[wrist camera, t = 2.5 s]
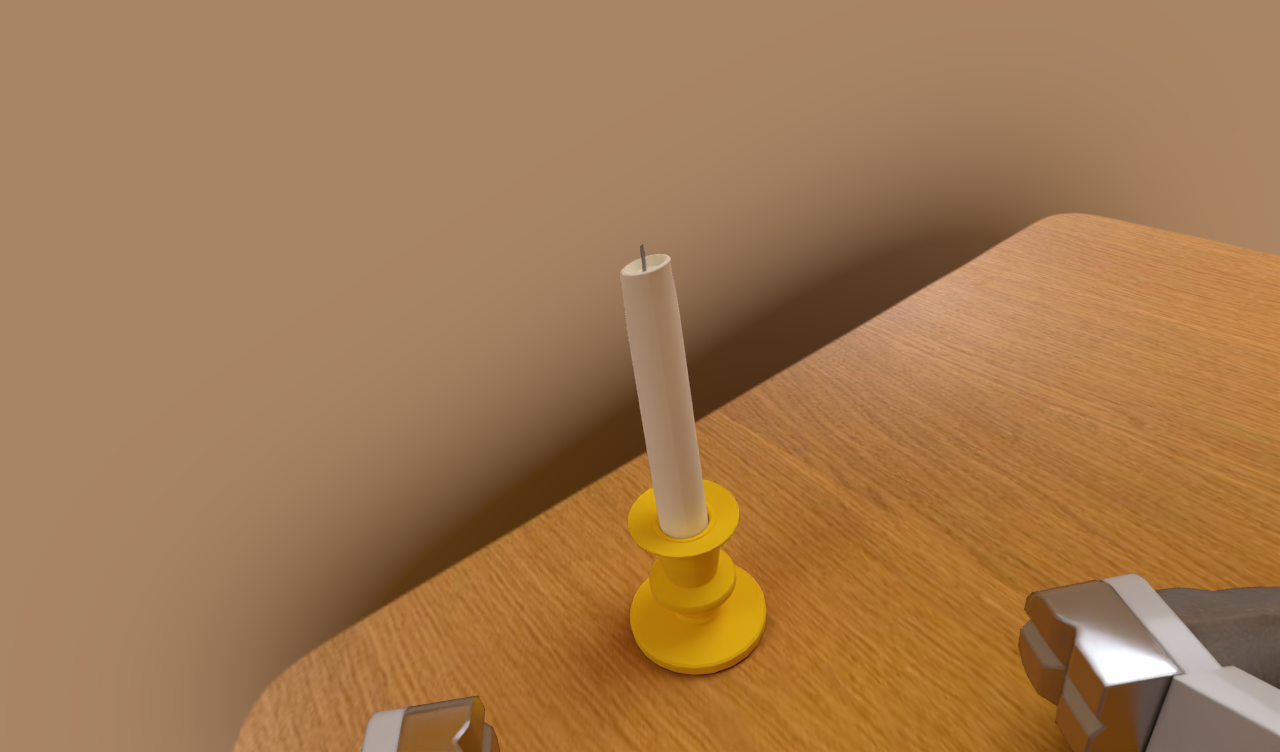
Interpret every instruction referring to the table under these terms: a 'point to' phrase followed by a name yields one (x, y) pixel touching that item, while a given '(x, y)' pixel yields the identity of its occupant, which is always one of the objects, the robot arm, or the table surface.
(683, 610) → the candle
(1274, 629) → the rhino figurine
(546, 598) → the table surface
